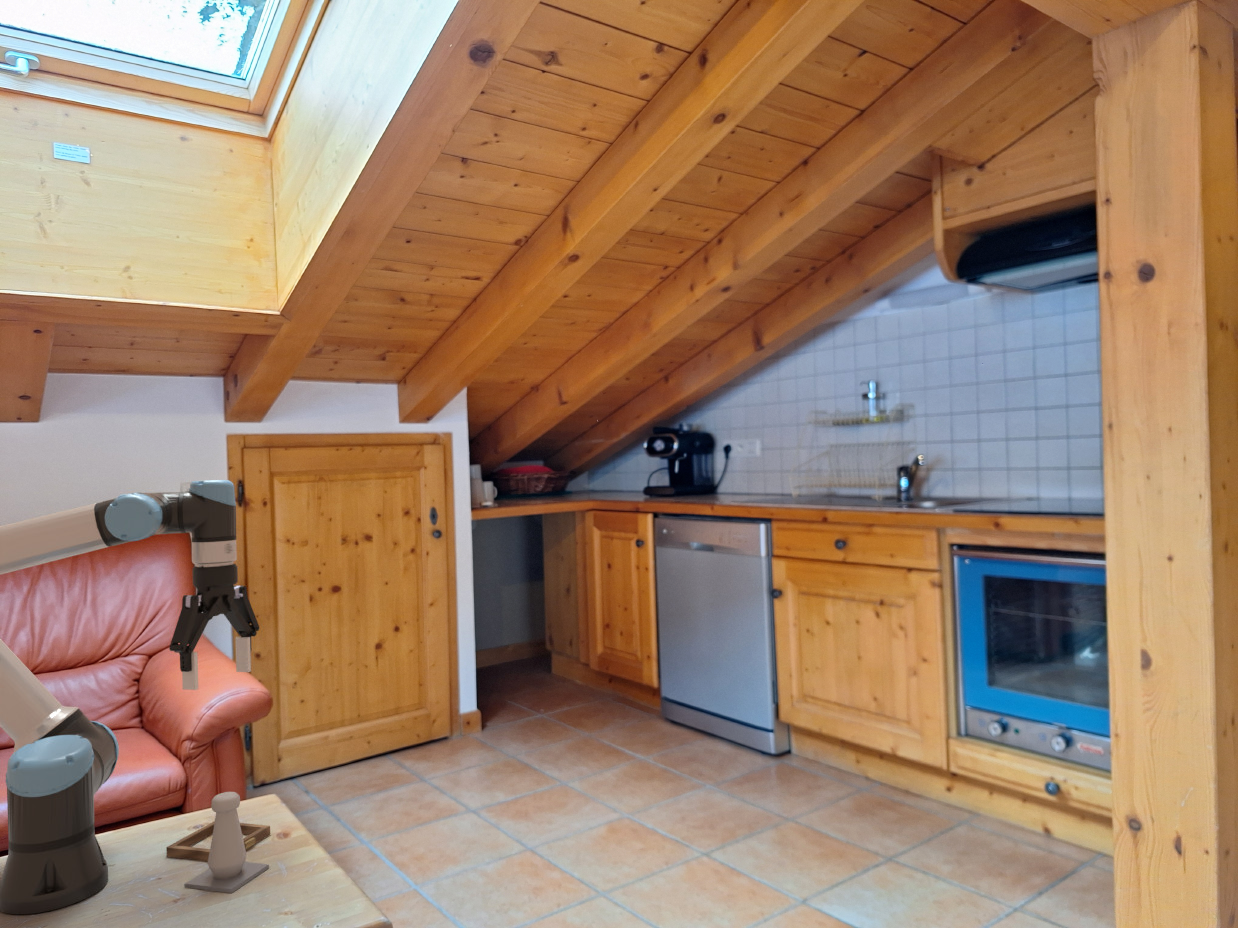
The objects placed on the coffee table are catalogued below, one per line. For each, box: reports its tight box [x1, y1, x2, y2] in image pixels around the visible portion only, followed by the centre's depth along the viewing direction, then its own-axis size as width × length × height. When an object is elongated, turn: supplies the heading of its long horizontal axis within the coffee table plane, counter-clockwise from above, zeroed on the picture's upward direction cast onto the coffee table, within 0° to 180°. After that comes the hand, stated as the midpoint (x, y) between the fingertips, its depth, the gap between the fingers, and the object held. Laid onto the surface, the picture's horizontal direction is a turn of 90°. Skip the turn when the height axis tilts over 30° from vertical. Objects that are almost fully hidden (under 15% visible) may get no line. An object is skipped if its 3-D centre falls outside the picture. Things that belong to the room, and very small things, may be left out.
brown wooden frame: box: [165, 820, 271, 862], centre depth 158 cm, size 13×12×2 cm
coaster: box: [184, 861, 270, 894], centre depth 145 cm, size 9×9×1 cm
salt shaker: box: [207, 791, 247, 879], centre depth 145 cm, size 6×6×13 cm
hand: (218, 680), depth 162 cm, fingers open, 13 cm apart
